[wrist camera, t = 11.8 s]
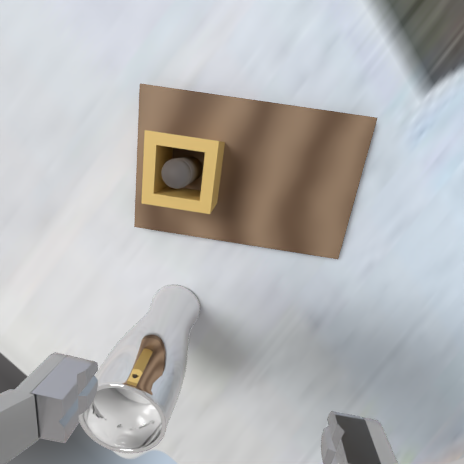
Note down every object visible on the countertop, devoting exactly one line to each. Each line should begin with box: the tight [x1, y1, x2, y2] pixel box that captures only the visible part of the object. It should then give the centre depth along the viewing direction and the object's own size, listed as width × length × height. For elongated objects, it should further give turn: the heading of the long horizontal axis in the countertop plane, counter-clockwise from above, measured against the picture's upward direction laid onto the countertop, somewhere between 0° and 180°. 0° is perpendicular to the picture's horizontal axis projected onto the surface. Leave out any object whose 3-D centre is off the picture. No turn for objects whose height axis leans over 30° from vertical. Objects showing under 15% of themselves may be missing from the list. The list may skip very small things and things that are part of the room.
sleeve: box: [141, 130, 225, 214], centre depth 25 cm, size 6×6×5 cm
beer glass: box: [79, 285, 200, 453], centre depth 27 cm, size 7×7×15 cm
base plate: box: [134, 84, 377, 259], centre depth 25 cm, size 22×14×8 cm, turn 82°
